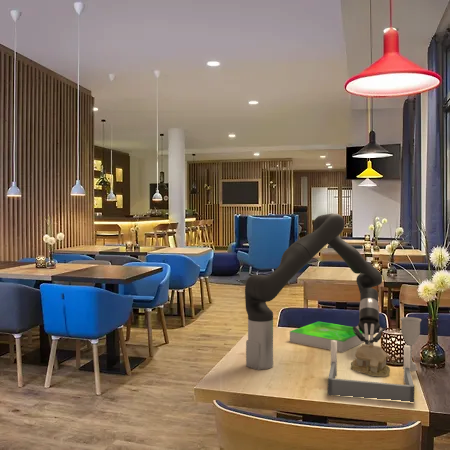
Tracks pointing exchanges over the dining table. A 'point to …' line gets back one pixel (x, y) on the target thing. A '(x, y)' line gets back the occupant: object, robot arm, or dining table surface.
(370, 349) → the ceramic model
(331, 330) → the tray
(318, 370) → the dining table surface
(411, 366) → the chalice
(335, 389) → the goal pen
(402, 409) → the dining table surface
